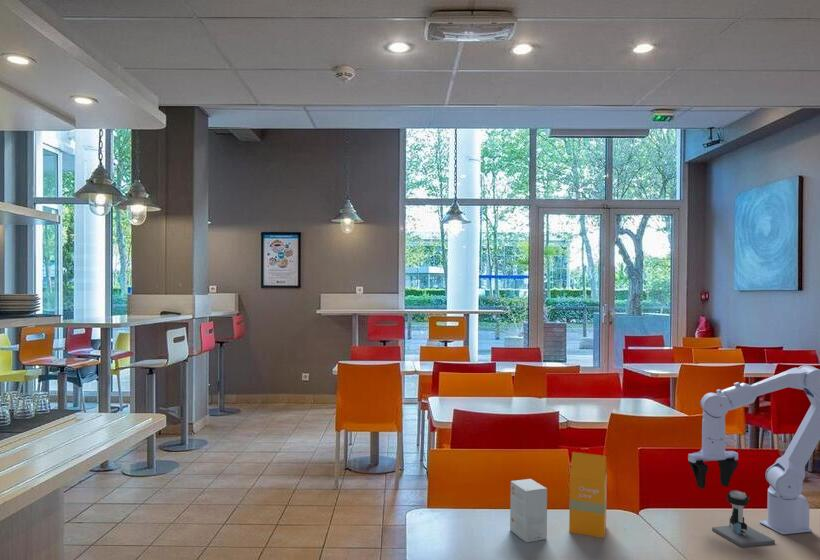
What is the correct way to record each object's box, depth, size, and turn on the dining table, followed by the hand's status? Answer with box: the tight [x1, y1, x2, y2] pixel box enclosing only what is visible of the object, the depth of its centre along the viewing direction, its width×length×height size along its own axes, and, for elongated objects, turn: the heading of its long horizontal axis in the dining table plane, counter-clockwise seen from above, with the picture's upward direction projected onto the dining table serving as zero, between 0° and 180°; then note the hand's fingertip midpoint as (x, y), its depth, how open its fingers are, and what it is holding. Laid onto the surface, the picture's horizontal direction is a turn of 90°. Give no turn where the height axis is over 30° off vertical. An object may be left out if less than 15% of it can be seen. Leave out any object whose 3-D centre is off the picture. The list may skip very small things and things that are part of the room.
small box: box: [509, 478, 548, 543], centre depth 154 cm, size 8×6×13 cm
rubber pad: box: [711, 525, 776, 548], centre depth 154 cm, size 10×10×1 cm
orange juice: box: [568, 451, 608, 538], centre depth 158 cm, size 8×9×20 cm
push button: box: [725, 489, 751, 536], centre depth 155 cm, size 7×5×10 cm
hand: (712, 486), depth 165 cm, fingers open, 7 cm apart
